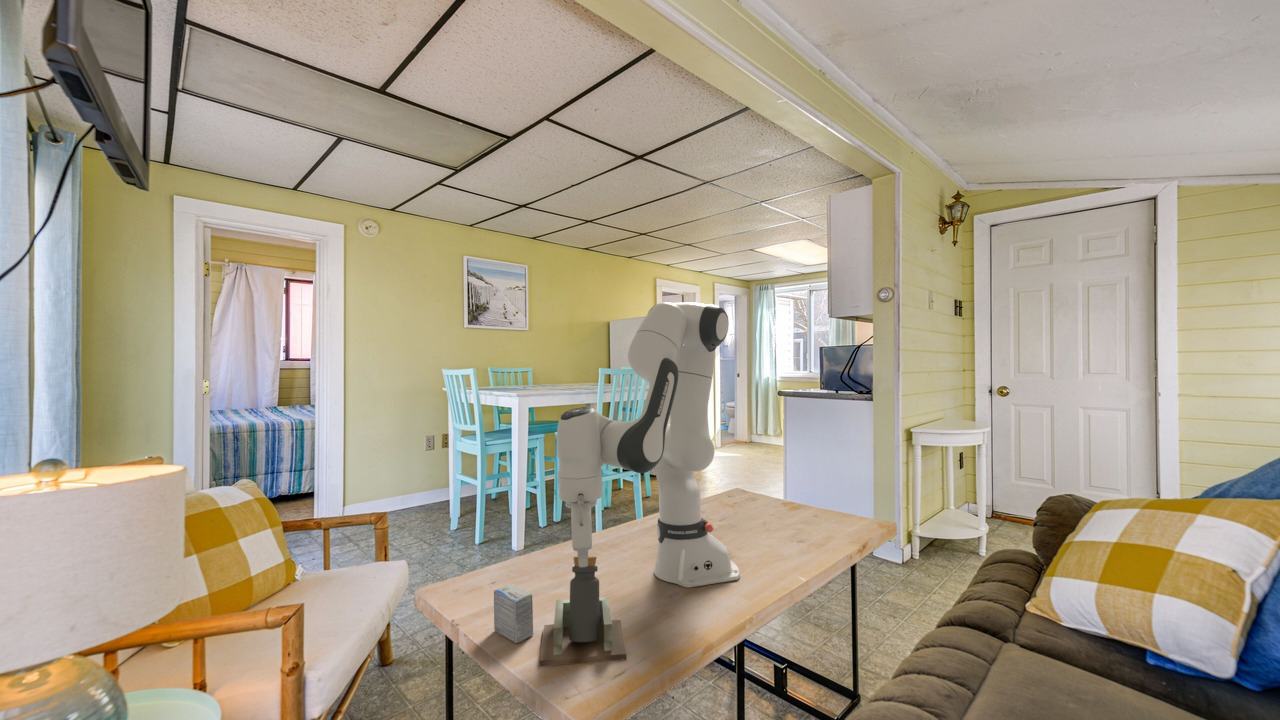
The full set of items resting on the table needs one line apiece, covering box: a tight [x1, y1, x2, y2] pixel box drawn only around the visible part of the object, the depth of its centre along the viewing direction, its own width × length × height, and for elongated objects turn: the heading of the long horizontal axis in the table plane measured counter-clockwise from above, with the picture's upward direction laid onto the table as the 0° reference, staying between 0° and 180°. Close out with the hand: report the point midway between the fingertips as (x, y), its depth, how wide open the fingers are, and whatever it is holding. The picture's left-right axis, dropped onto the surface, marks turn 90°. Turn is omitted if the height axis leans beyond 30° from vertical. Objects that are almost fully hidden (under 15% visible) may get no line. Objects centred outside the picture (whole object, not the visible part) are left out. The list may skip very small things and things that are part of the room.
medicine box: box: [493, 583, 534, 644], centre depth 104 cm, size 8×4×9 cm, turn 48°
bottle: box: [569, 555, 600, 642], centre depth 101 cm, size 6×6×15 cm
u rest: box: [539, 596, 627, 667], centre depth 100 cm, size 16×13×6 cm
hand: (583, 556), depth 102 cm, fingers open, 8 cm apart
